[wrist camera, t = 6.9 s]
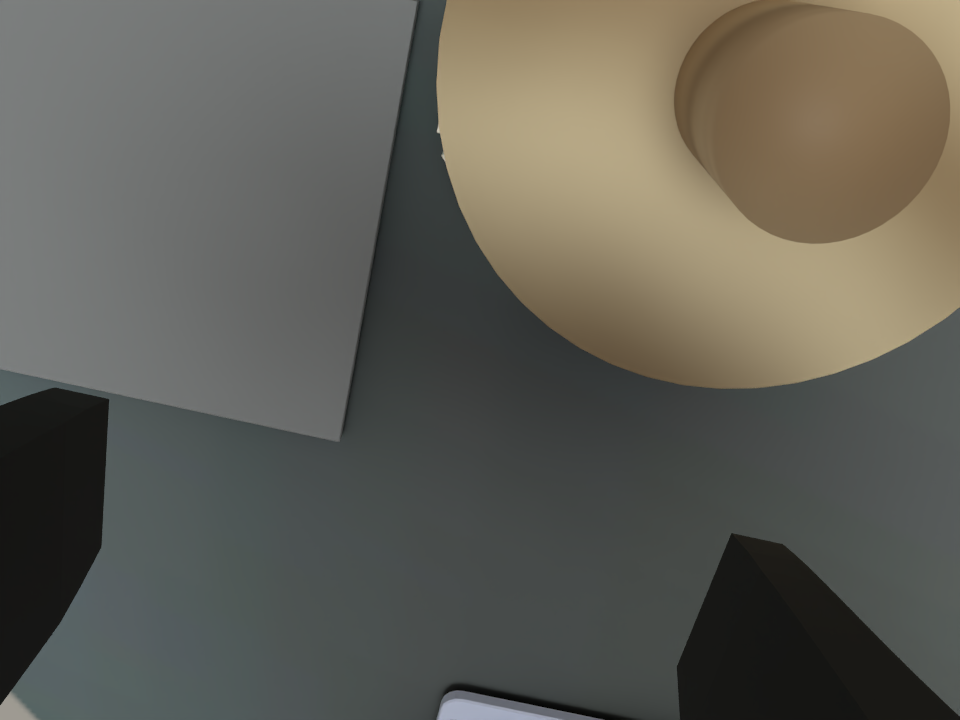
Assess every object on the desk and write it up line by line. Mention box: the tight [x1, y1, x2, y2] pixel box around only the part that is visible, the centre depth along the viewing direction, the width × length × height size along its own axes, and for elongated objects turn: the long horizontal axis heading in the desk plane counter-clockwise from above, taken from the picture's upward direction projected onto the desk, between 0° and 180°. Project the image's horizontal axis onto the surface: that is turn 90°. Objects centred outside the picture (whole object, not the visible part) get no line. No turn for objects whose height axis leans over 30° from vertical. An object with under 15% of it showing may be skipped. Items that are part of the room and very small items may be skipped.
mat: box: [0, 0, 419, 442], centre depth 19 cm, size 10×10×1 cm
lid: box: [436, 0, 960, 389], centre depth 13 cm, size 10×10×4 cm
